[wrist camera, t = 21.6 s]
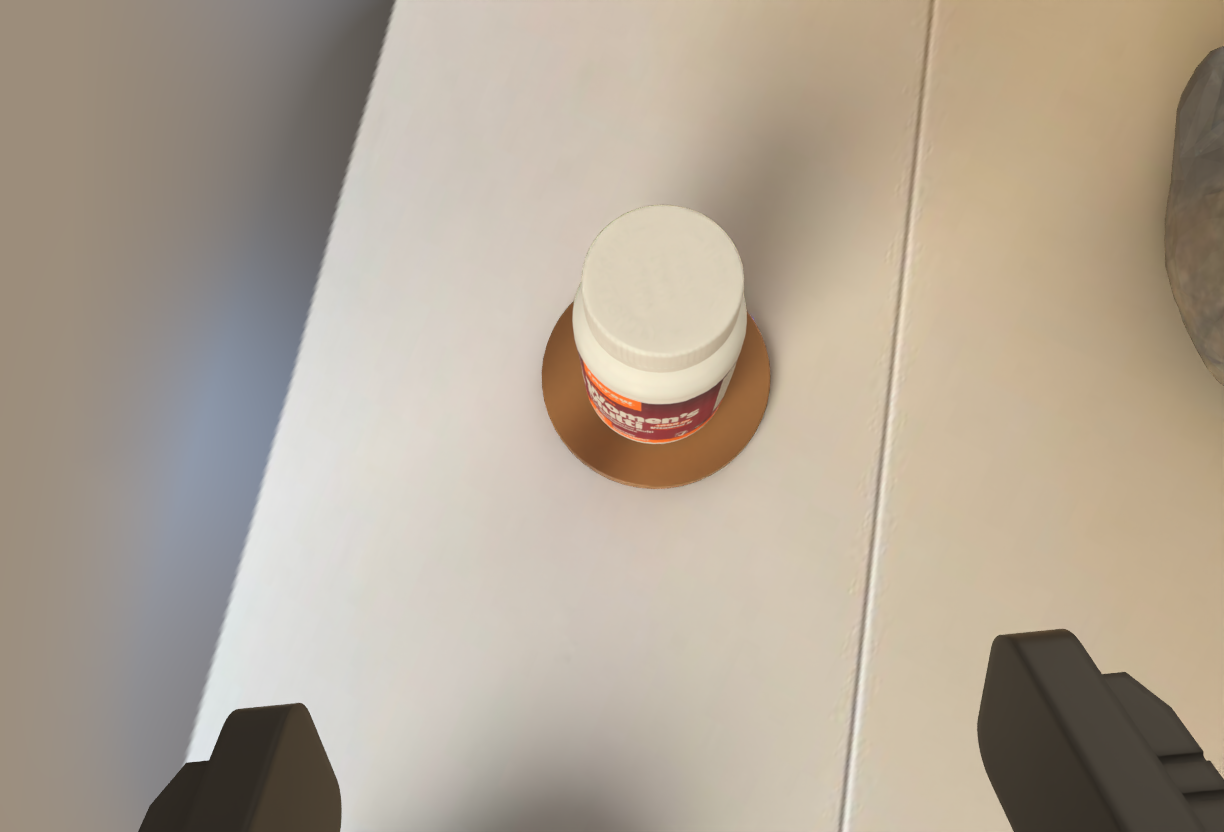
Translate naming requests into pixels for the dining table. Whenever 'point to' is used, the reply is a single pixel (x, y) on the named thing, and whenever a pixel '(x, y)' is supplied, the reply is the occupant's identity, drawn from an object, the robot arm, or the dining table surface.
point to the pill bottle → (659, 322)
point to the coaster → (645, 460)
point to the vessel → (1199, 211)
